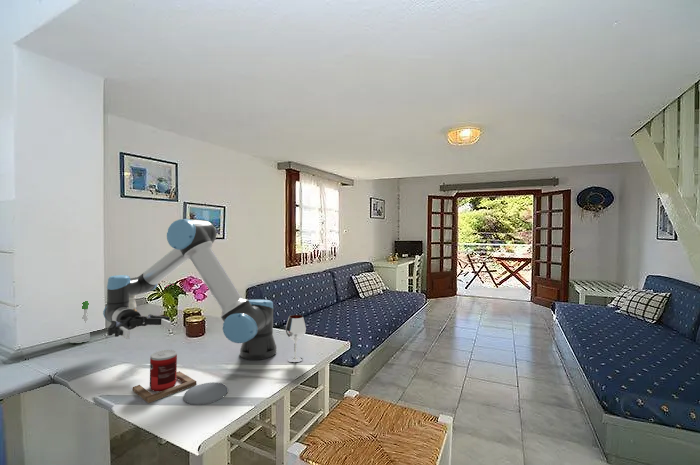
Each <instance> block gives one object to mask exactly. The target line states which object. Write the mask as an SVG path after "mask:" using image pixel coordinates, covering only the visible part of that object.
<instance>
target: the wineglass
mask: <svg viewBox="0 0 700 465" xmlns="http://www.w3.org/2000/svg"><path fill="white" fill-rule="evenodd" d="M306 330H307V327H306V323H305V319H304V316H303V315H301V314H292V315H289V316H288V319H287V322H286V325H285V333H286V335H287V337H288V338H289V339H290V340H291V341H293V343H294V344H293V345H294V347H293V348H294V349H293V350H294V352H293V357H294V358H293V359H292V360H298V358H297V357H296V356H297V343H298V342H299V341H300V340H301V338H303V337H304V336H305V334H306V332H307V331H306Z"/></svg>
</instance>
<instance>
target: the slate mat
mask: <svg viewBox="0 0 700 465" xmlns="http://www.w3.org/2000/svg"><path fill="white" fill-rule="evenodd" d="M228 389H229V388H228V386H227V385H226V384H224V383H222V382H205V383H200V384H196V385H194V386H192V387H189V388H188V389H187V390H186V391H185V392H184V394H183V401H184V402H185V403H186V404H189V405H193V406H195V405H196V406H198V405H199V406H200V405H208V404H211V403H214V402H217V401H220V400H221V399H223V398H224V397H225V396H226V395H227V394H228V392H227V391H228ZM226 393H227V394H226ZM223 396H224V397H223ZM222 397H223V398H222ZM219 399H220V400H219Z"/></svg>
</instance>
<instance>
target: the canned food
mask: <svg viewBox="0 0 700 465" xmlns="http://www.w3.org/2000/svg"><path fill="white" fill-rule="evenodd" d="M177 366H178V354H177V351H176V350H173V349H164V350H158V351H155V352H153V353H152V354H150V359H149V388H150V390H151V391H152V392H156V393H158V392H161V391H164V390H166V389H169V388H172V387H174V386H176V384H177V378H176V372H178V371H177V369H178V368H177Z"/></svg>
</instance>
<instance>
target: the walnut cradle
mask: <svg viewBox="0 0 700 465" xmlns="http://www.w3.org/2000/svg"><path fill="white" fill-rule="evenodd" d="M176 380H178V381H180V382H182V383H180V384H178V385H175V386H174V387H172V388H169V389H166V390H164V391H159V392H155V393H153V394H152V393H151V392H150V391H149V390H147V389H146V388H145V387H143V386H142V385H140V384H138V385H134V386H132V392H134V394H136V395H137V396H138V397H139V398H141V399H142V400H144V401H145V402H146V403H148V404H150V403H153V402H154V401H158V400H160V399H163V398H166V397H168V396H171V395H173V394H176V393H178V392H182V391H184V390H186V389H187V390H188V389H190V388H192V387H194V386H197V381H198V380H195V379H193V378H192V377H190V376H188V375H187V374H185V373H183V372H181V371H177V372H176Z"/></svg>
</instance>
